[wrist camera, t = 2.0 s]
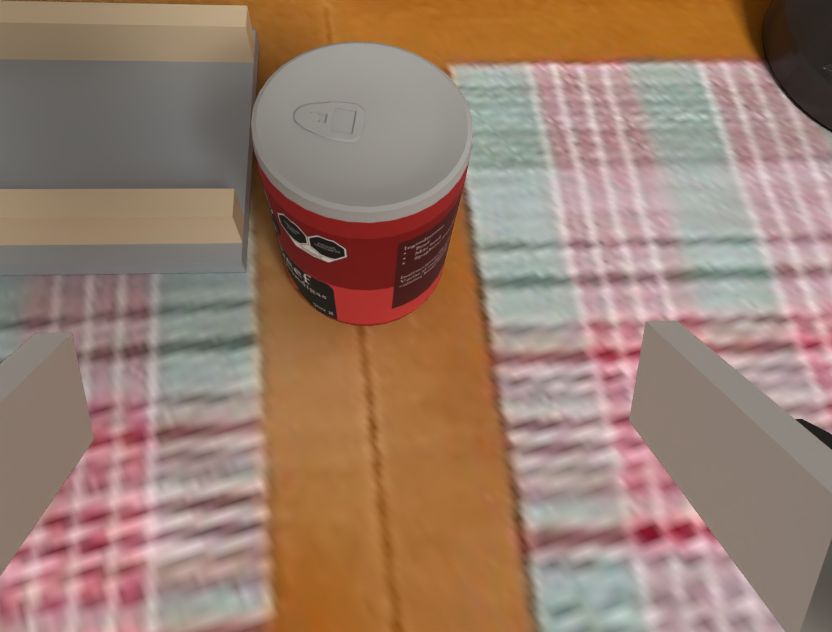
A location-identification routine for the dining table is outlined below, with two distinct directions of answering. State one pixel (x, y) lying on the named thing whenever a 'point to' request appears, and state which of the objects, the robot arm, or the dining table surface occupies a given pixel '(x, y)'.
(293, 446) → the dining table surface
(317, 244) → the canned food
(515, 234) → the dining table surface
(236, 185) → the track
